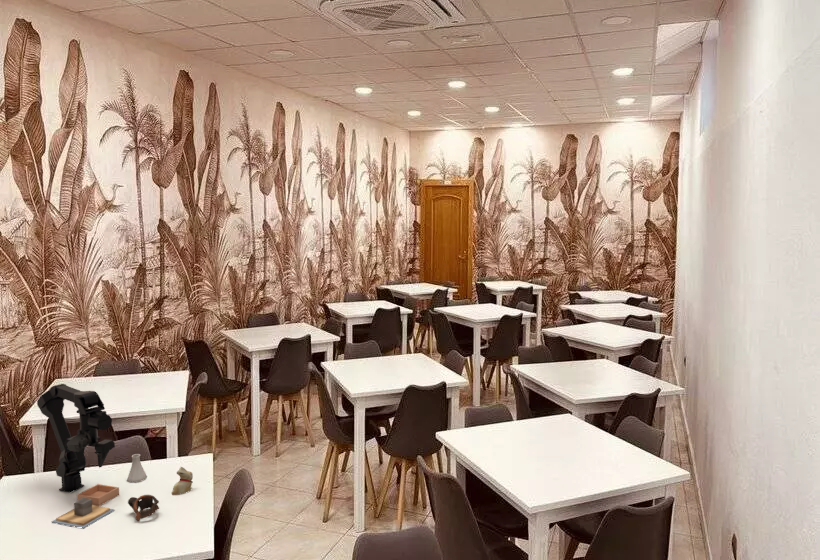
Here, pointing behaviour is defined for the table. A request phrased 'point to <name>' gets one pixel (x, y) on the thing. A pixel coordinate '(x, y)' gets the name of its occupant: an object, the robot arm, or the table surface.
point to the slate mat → (87, 523)
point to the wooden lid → (83, 512)
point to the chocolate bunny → (183, 482)
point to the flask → (136, 470)
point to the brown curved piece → (143, 506)
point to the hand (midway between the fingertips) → (90, 465)
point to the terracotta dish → (99, 494)
